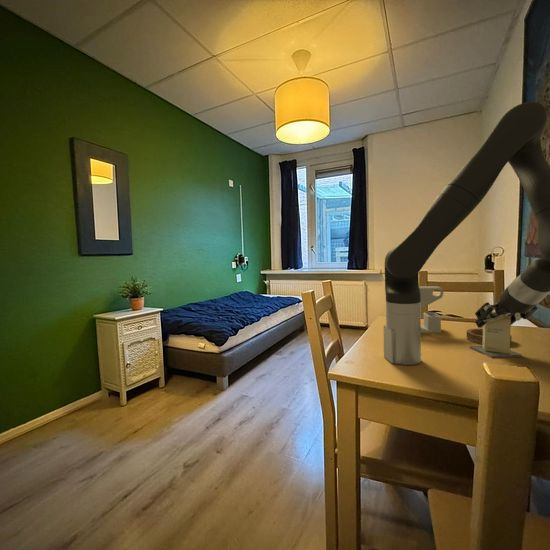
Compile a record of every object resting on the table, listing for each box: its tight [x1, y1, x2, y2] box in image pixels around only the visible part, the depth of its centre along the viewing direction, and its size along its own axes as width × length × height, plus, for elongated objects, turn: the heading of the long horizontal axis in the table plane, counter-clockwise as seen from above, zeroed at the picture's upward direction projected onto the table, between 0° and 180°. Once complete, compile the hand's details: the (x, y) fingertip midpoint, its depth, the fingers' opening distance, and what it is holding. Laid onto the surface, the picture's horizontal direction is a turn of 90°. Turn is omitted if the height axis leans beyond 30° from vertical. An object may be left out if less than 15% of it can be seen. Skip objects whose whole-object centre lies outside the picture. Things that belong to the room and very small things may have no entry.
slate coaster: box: [469, 345, 523, 358], centre depth 88 cm, size 9×9×1 cm
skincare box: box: [481, 309, 512, 353], centre depth 88 cm, size 6×4×12 cm
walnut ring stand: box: [466, 328, 513, 345], centre depth 100 cm, size 12×12×2 cm
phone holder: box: [419, 285, 444, 334], centre depth 116 cm, size 17×10×18 cm, turn 78°
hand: (491, 324), depth 89 cm, fingers open, 8 cm apart
